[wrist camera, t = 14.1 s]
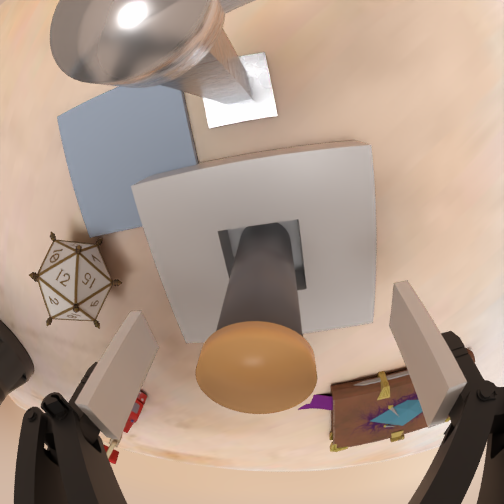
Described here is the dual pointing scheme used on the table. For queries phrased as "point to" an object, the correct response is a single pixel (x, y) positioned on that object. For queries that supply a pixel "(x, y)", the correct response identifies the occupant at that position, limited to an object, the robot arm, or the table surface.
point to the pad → (123, 150)
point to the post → (229, 85)
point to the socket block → (263, 212)
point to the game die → (74, 281)
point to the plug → (259, 331)
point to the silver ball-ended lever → (135, 38)
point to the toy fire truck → (126, 427)
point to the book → (372, 409)
